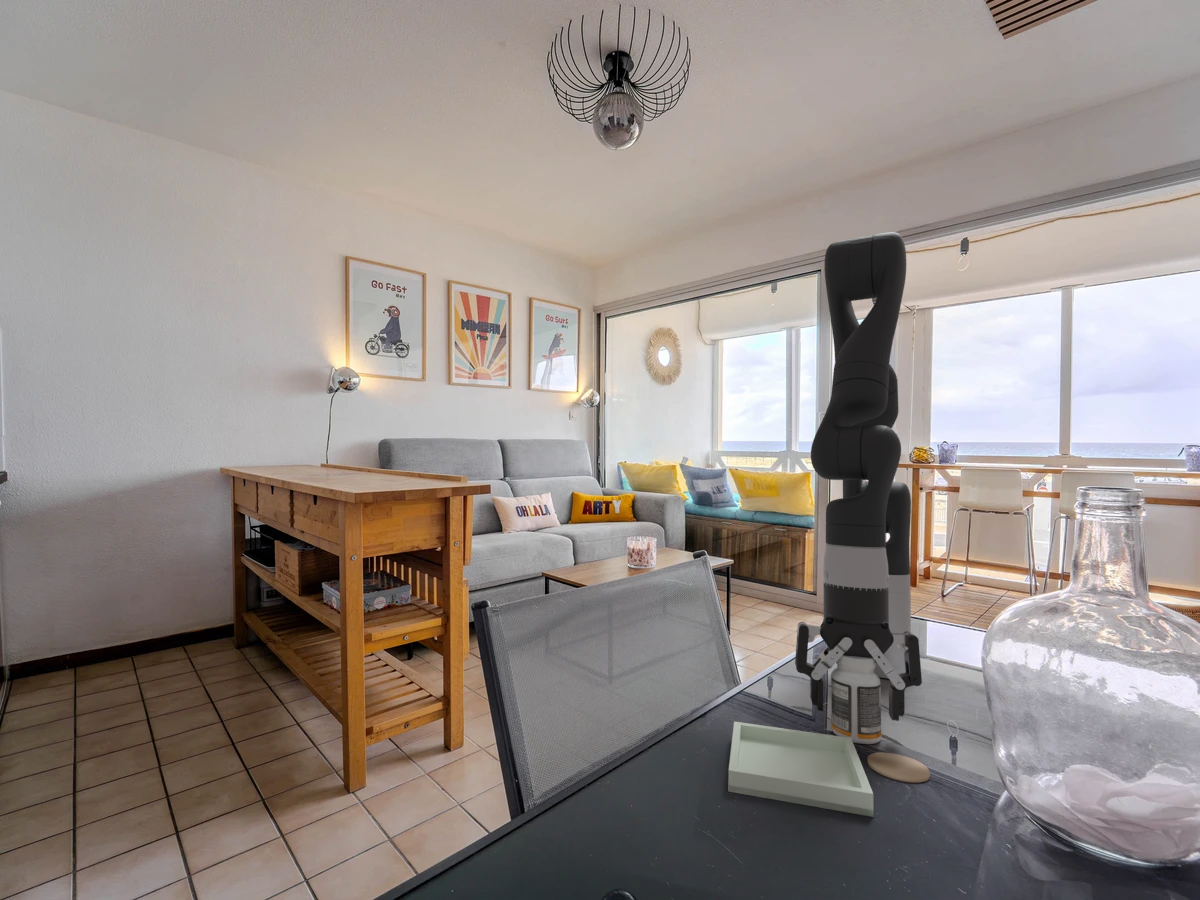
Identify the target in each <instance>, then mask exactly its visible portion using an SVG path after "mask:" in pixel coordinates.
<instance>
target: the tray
mask: <svg viewBox="0 0 1200 900" xmlns="http://www.w3.org/2000/svg"><path fill="white" fill-rule="evenodd" d="M731 737H732V738H731V747H730V755H729V763H728V775H727V776H728V780H727V781H728V782H727V784H728V787H727V788H728V789H727V790H728V791H727V792H731V793H734V794H735V793H736V794H740V795H747V796H753V797H758V798H763V799H769V800H776V801H780V802H786V803H791V804H792V803H793V804H797V805H804V806H810V807H815V808H819V809H820V808H821V809H827V810H831V811H838V812H842V813H848V814H849V813H850V814H853V815H854V814H855V815H859V816H865V817H872V818H873V817H874V811H875V810H874V807H875V806H874V791H873V790H872V787H871V785H870V782H869V779H868V777H867V775H866V773H865V769H864V767H863V764H862V761H861V760H860V757H859V754H858V753H857V752H858V751H857V749H856V747H855V745H854V744H855V743H854V742H852V739H851V738H848V737H841V736H837V735H833V734H826V733H825V734H824V733H819V732H809V731H804V730H797V729H790V728H783V727H776V726H768V725H761V724H755V723H747V722H741V721H733V730H732V736H731Z"/></svg>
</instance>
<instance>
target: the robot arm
mask: <svg viewBox="0 0 1200 900" xmlns="http://www.w3.org/2000/svg"><path fill="white" fill-rule="evenodd" d="M906 249H907V248H906V245H905V241H904V239H903V237H902V235H901V234H900V233H897V232H894V231H893V232H891V231H890V232H882V233H876V234H875V233H874V234H871V235H870V234H869V235H865V236H860V237H854V238H849V239H843V240H839V241H835V242H832V243H830V244H829V245H828V246H827V249H826V251H825V255H824V256H825V257H824V266H823V267H824V270H823V271H824V278H825V279H824V281H825V287H826V288H825V290H826V295H827V302H828V303H827V305H828V310H829V317H830V323H831V331H832V338H833V339H832V340H833V347H834V350H833V351H834V366H833V373H832V374H833V376H832V383H831V393H830V394H831V395H830V399H829V402H828V406H827V408H826V411H825V413H824V416H823V418H822V420H821V423H819V426H818V429H817V431H816V433H815V435H814V438H813V440H812V443H811V448H810V460H811V461H810V462H811V464H812V468H813V470H814V471H815V473H816V474H817V475H818V476H820V477H821V478H822V479H825V480H831V481H842V497H841V498H836V499H833V500H831V501H829V502H828V503H827V505H826V508H825V549H824V550H825V551H824V557H823V620H822V623H821V625H813V624H807V623H806V622H805V621H800V622H798V624H797V630H796V645H795V660H794V664H795V668H796V669H795V670H796V671H797V672H798V673H799V674H803V675H806V676H808V677H809V679H810V681H809V682H810V684H809V685H810V687H809V693H810V694H809V695H810V696H809V698H810V701H811V704H812V705H813V706H815V707H816V708H815V709H816V711H818V712H824V679H823V676H825V674H826V673H827V672H828V671H829V670H830V669H831V668H832V667H834V666H835V664H836V662H837V661H838V660H839V658H840V657H841V656H842V655H845V656H855V657H866V658H874V659H875V663H876V667H875V669H874V673H875V674H876V675H877V676H878V677H879V678H881V679H882V678H883V679H889V681H890V683H888V716H889V717H890V719H891V720H892V721H900V717H904V714H905V713H906V711H905V710H906V709H905V691H906V689H907V688H909V687H913V686H914V687H919V686H921V685H922V683H923V678H922V668H921V654H920V641H919V638H918V636H916V635H915V634H914V633H913V632H912V620H911V619H912V611H911V609H912V602H911V598H912V597H911V596H912V595H911V564H910V563H911V562H910V560H911V559H910V558H911V557H910V535H911V534H910V533H911V513H912V499H911V496H912V495H911V491H910V489H909V487H908V485H907V484H906V483H905V482H902V481H894V479H895V476H896V473H897V470H898V467H899V463H900V460H901V455H902V444H901V440H900V437H899V436H898V434H897V433H896V432H895V431H894V429H892V428H893V427H894V425H895V423H896V421H897V419H898V416H899V387H898V386H899V385H898V376H897V373H896V372H895V369H894V368H893V367H892V365H891V363H890V362H891V354H892V347H893V342H894V338H895V333H896V329H897V325H898V320H899V315H900V311H901V305H902V300H903V294H904V291H905V284H906V277H907V252H906V251H907V250H906ZM869 299H876V300H875V302H874V304H873V306H872V307H871V309H870V310H869V312H868V314H867V315H866V316H865V318H864V319H863V320H862V321H861V322H860V323H859V321H858V319H857V316H856V314H855V310H854V307H853V304H852V302H853V301H863V300H869ZM886 534H889V538H888V540H886V538H887V537H886ZM816 636H820V638H821V639H822V640H823V642H824V643H825V644H826V647H825V648H824V649H823V650H822V652H820V654H819V656H818V658H816V660H814V662H813V663H812V664H811V663H809V662H808V648H809V643H813V642H814V641H815V638H816Z"/></svg>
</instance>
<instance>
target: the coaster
mask: <svg viewBox="0 0 1200 900" xmlns="http://www.w3.org/2000/svg"><path fill="white" fill-rule="evenodd" d="M867 765H868V767H869V768H870V769H871V770H873V772H876V773H877V774H879V775H881V776H883V777H886V778H888V779H892V780H895V781H899V782H904V783H910V784H911V783H913V784H914V783H917V784H918V783H924V782H927V781H928V780H930V778H931V772H930V769H929V768H928V767H927V766H926V765H925V764H923V763H922V762H920V761H918V760H916V759H914V758H912V757H908V756H906V755H901V754H897V753H891V752H875V753H870V754H869V755H868V756H867Z"/></svg>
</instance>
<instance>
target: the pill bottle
mask: <svg viewBox="0 0 1200 900" xmlns="http://www.w3.org/2000/svg"><path fill="white" fill-rule="evenodd" d="M835 664H836V665H837V666H836V667H835V668H834V669H833V670H832V672H831V674H830V678H831V679H830V682H831V683H830V685H831V686H830V689H831V696H830V697H831V700H830V701H831V708H830V709H831V731H832V732H833V733H834V734H835V736H841V737H848V738H851V739H852V742H853V744H861V745H862V744H863V745H872V744H878V743H879V742H880V741H881V739H882V733H883V732H882V731H883V730H882V686H881V685H882V683H881V679H880V677H878V676H877V675H876V674H875V673H874V669H875V667H876V663H875V659H874V658H866V657H855V656H845V655H842V656H841V657H840V658H839V660H838V661H837V662H836V663H835Z"/></svg>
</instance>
